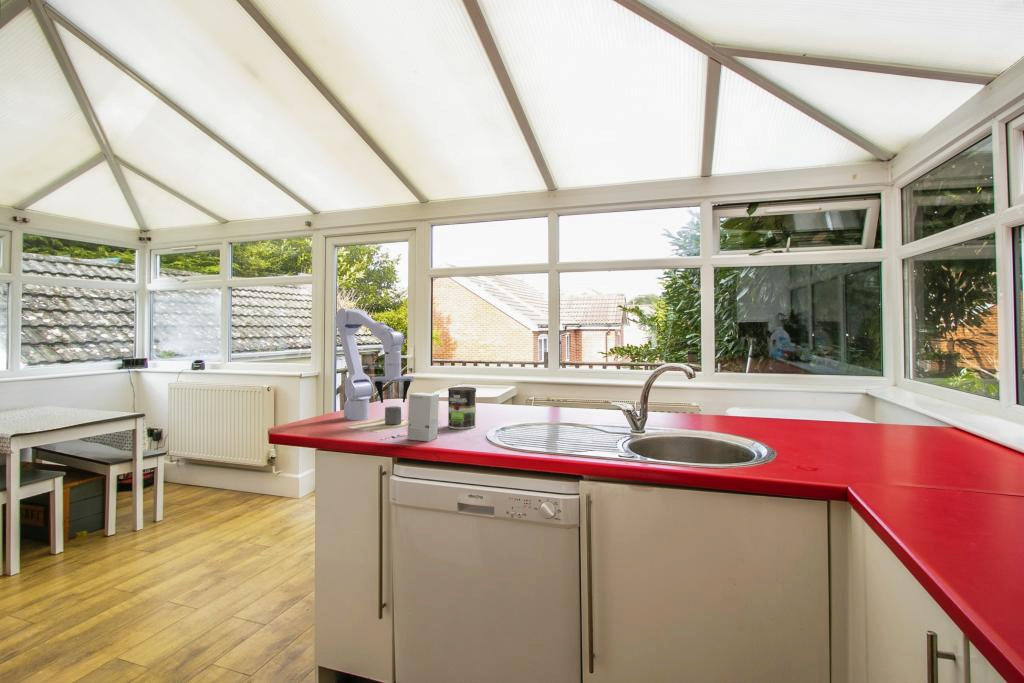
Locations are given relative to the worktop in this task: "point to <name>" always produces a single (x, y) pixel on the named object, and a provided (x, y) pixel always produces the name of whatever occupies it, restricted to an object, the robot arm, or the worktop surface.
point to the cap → (392, 415)
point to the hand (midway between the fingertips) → (393, 402)
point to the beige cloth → (376, 425)
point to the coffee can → (462, 407)
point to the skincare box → (423, 416)
